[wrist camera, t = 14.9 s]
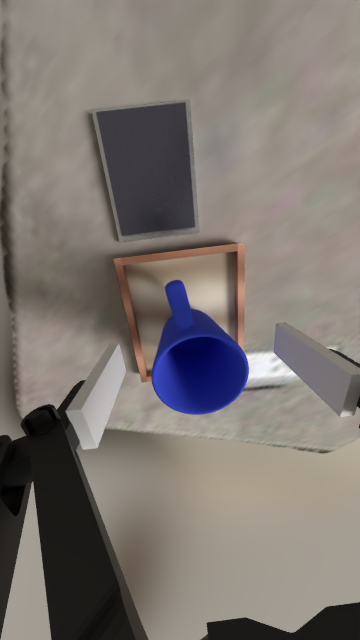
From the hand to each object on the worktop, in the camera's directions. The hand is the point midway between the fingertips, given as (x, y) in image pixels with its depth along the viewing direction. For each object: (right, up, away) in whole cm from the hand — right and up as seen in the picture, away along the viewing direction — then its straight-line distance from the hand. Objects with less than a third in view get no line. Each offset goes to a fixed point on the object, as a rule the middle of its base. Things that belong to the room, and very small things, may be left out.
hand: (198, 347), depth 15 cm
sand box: (-1, +3, +9) cm, 10 cm away
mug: (-1, +3, +9) cm, 9 cm away
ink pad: (-5, +17, +4) cm, 18 cm away
